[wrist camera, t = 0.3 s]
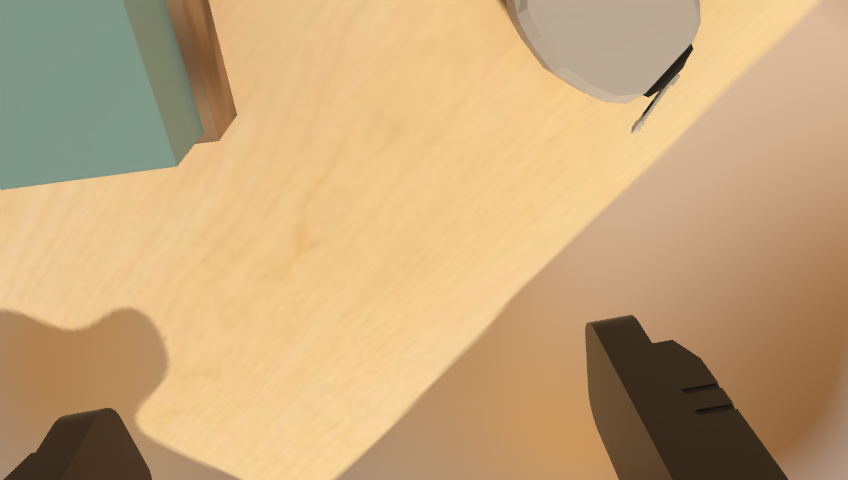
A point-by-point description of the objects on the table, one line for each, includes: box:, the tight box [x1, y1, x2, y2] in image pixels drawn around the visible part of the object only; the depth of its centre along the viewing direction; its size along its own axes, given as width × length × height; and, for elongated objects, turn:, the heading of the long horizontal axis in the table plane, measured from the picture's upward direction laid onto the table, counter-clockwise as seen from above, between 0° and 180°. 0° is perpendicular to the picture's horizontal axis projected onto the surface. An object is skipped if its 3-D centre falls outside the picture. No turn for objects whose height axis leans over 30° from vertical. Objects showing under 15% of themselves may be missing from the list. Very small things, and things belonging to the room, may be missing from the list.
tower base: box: [165, 0, 237, 144], centre depth 32 cm, size 9×9×5 cm
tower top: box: [0, 0, 204, 190], centre depth 28 cm, size 8×8×5 cm
